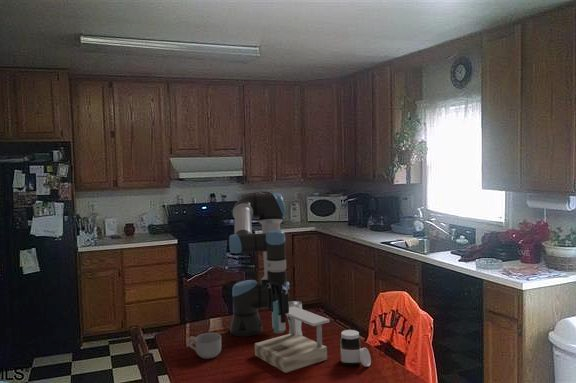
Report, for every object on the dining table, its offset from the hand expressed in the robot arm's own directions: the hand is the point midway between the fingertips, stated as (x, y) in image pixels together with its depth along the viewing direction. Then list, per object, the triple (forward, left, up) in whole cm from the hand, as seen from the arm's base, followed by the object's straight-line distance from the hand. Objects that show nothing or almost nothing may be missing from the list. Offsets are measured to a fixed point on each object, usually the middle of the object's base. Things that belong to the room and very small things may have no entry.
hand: (279, 328), depth 196 cm
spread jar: (+21, +21, -13) cm, 32 cm away
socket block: (0, +5, -13) cm, 14 cm away
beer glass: (-19, +21, -13) cm, 31 cm away
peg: (0, 0, -1) cm, 1 cm away
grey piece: (0, +12, -8) cm, 14 cm away
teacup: (-24, -21, -13) cm, 34 cm away
